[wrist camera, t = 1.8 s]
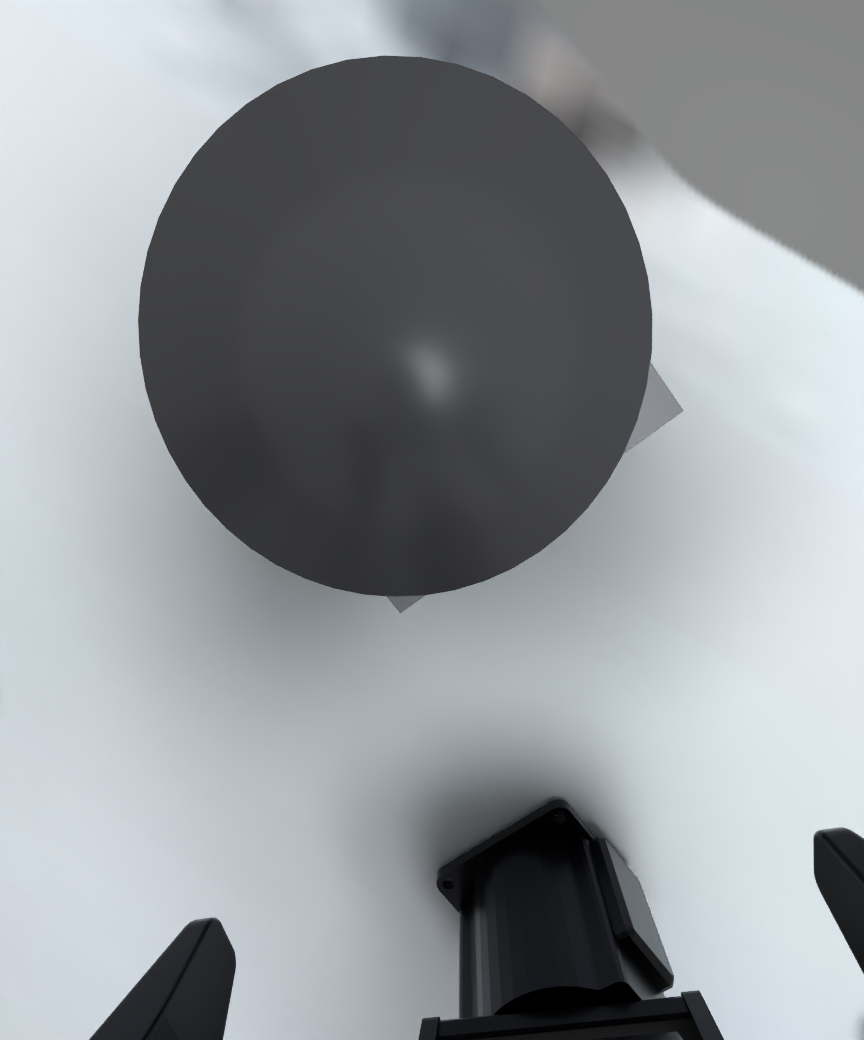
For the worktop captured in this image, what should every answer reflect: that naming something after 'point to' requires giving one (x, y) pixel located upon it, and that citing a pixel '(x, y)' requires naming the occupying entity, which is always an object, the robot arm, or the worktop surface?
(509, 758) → the worktop surface
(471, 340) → the blue-grey upright cylinder
